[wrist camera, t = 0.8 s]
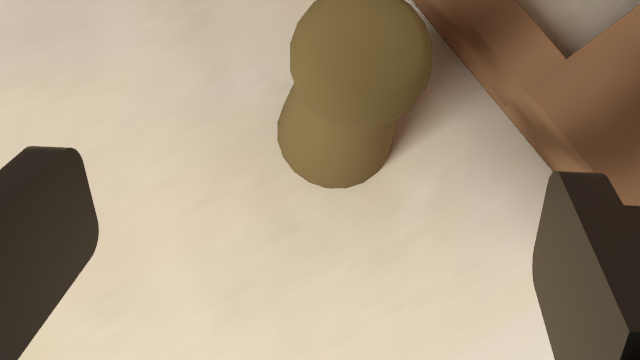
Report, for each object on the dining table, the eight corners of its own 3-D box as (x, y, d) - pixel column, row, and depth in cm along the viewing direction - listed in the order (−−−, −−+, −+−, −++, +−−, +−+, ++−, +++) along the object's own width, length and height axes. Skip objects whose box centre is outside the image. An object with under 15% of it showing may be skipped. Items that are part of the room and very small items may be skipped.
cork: (411, 108, 31) (482, 4, 21) (362, 209, 30) (411, 153, 19) (309, 57, 32) (327, -72, 21) (256, 155, 30) (246, 71, 20)
